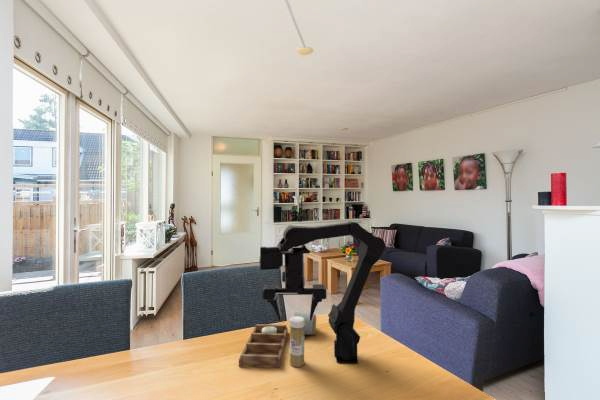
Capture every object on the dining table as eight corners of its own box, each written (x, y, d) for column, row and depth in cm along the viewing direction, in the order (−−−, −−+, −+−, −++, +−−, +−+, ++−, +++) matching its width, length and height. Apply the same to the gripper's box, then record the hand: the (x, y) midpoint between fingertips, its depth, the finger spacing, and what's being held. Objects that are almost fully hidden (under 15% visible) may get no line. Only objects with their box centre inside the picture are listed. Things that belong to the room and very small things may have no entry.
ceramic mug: (314, 338, 105) (315, 316, 105) (291, 337, 106) (291, 315, 106) (317, 326, 115) (317, 306, 116) (296, 325, 116) (296, 305, 117)
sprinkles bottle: (287, 365, 88) (287, 320, 88) (293, 357, 92) (293, 314, 92) (301, 369, 86) (301, 322, 86) (307, 360, 91) (307, 316, 90)
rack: (287, 332, 110) (287, 324, 109) (279, 367, 87) (279, 357, 87) (255, 331, 110) (255, 323, 110) (238, 366, 88) (238, 356, 88)
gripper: (324, 262, 97) (325, 309, 97) (267, 262, 98) (268, 310, 98) (325, 270, 86) (327, 324, 86) (261, 271, 87) (262, 324, 87)
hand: (295, 320), depth 90 cm, fingers open, 9 cm apart
